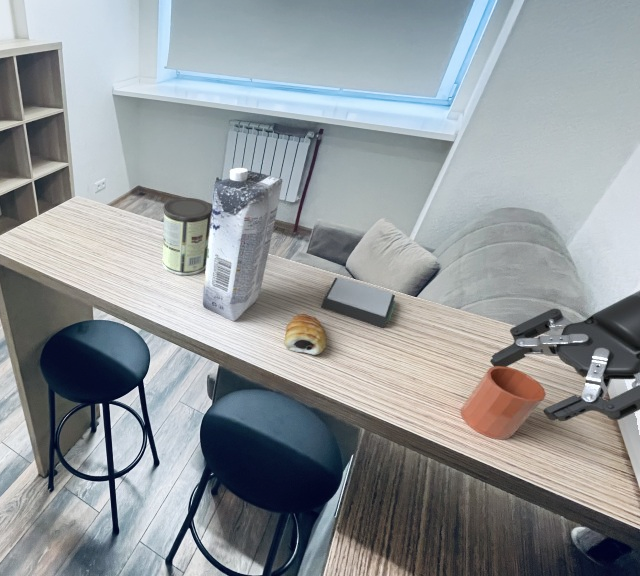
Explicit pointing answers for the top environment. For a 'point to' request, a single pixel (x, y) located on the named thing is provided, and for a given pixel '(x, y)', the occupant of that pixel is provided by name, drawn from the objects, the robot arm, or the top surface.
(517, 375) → the terracotta flower pot
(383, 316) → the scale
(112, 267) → the top surface
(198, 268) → the coffee can
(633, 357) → the robot arm
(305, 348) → the pastry
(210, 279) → the juice carton
